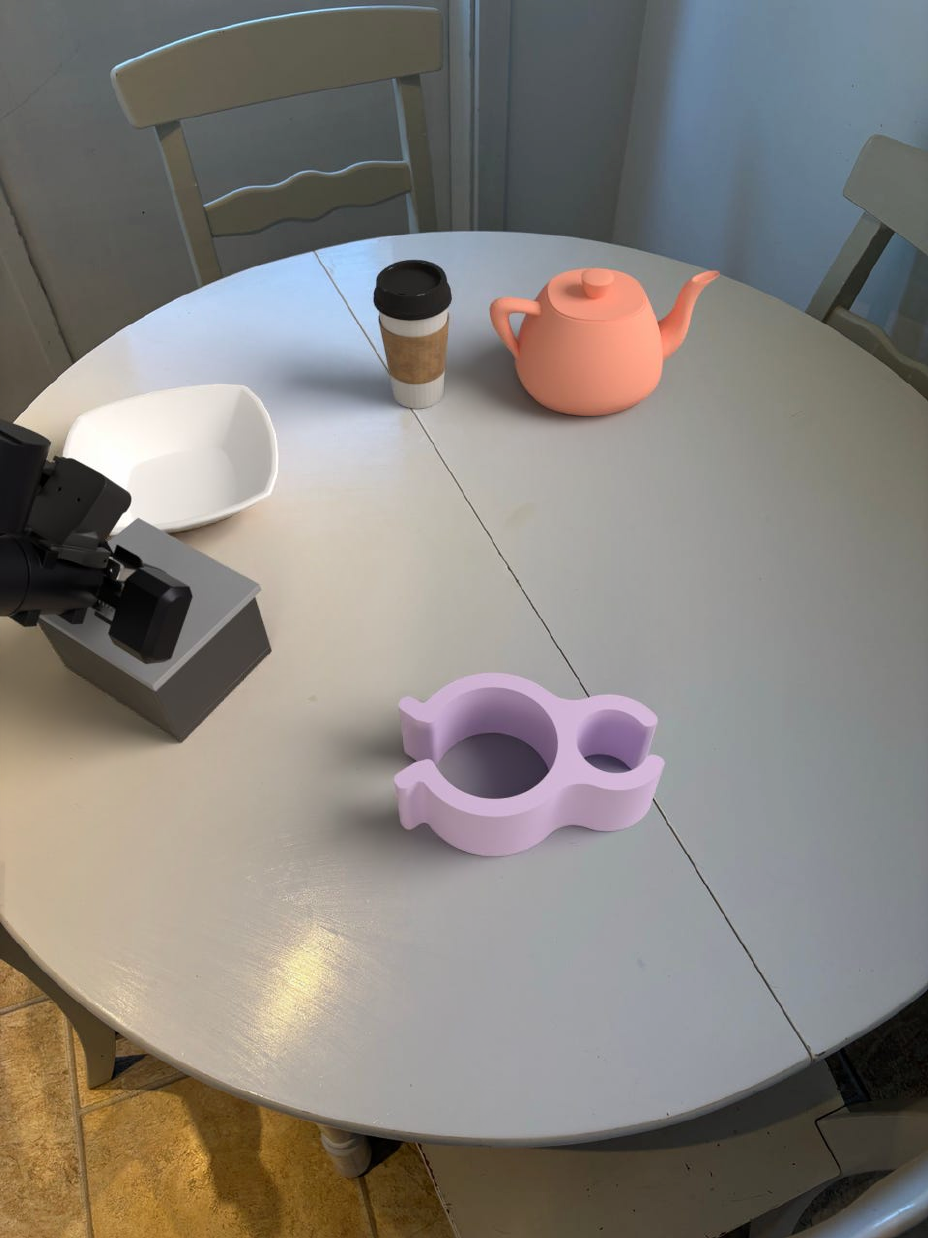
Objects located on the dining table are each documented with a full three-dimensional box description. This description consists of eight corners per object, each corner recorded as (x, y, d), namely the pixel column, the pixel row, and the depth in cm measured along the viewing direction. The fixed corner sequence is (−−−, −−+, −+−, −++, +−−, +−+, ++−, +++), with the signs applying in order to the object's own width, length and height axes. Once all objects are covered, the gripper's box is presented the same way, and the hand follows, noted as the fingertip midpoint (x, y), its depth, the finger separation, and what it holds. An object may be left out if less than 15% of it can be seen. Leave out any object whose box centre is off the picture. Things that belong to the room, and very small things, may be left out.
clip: (638, 718, 76) (650, 672, 71) (657, 856, 69) (672, 816, 63) (405, 719, 76) (400, 673, 71) (398, 856, 69) (391, 816, 63)
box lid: (140, 523, 81) (138, 517, 80) (261, 590, 75) (260, 584, 75) (30, 612, 74) (27, 606, 74) (155, 692, 69) (152, 686, 68)
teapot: (681, 332, 111) (702, 229, 101) (713, 418, 101) (741, 313, 90) (482, 341, 110) (483, 238, 100) (494, 429, 100) (497, 324, 89)
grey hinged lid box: (158, 584, 86) (134, 528, 80) (272, 651, 81) (255, 596, 75) (64, 666, 80) (31, 612, 74) (181, 743, 75) (155, 692, 69)
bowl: (300, 539, 90) (292, 502, 86) (80, 586, 86) (60, 549, 82) (269, 409, 103) (260, 371, 99) (75, 445, 99) (58, 407, 95)
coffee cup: (373, 410, 102) (360, 292, 91) (394, 366, 107) (384, 249, 96) (444, 420, 101) (439, 302, 89) (461, 376, 106) (460, 258, 94)
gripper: (131, 518, 56) (278, 531, 70) (-56, 415, 62) (113, 446, 77) (80, 676, 58) (232, 657, 72) (-96, 561, 65) (76, 564, 79)
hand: (162, 576), depth 75 cm, fingers closed, pressing on box lid
